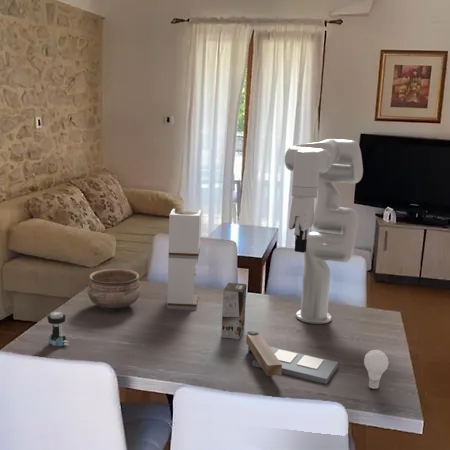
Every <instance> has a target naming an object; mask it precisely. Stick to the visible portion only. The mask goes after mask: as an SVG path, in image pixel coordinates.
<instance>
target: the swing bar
mask: <svg viewBox="0 0 450 450" xmlns="http://www.w3.org/2000/svg"><path fill="white" fill-rule="evenodd" d="M245 341H246V342H245V344H246V345H247V347H248V346H249V348H250V350H251V351H252V353H251V354H252V355H253V356H254V359H255V358H256V359H257V361H258V362H259V364H260V365H261V367H262V368H261V369H262V371H263V372H264V373H265V375H266V376H267V377H269V376H270V377H271V376H282V373H281V372H282V364H281V363H280V361H279V360H278V358H277V357H276V356H275V354H274V353H273V351H272V350H271V349H270V347H271V346H269V344H268V343H267V341H266V340H265V339H264V337H263V336H262V335H261V333H260V332H258V331H255V330H249V331H247V332H246V337H245Z"/></svg>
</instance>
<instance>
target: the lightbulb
mask: <svg viewBox="0 0 450 450" xmlns="http://www.w3.org/2000/svg"><path fill="white" fill-rule="evenodd" d="M363 364H364V367H365V369H366V370H367V371H366V372H367V374H368V380H369V381H368V387H369V388H370V389H371V390H376V389H379V388H380V387H379V385H380V379H381V378H382V375H383V374H384V373H385V372H386V371H387V369H388V367H389V358H388V356H387V354H386V353H384V352H383V351H382V350H379V349H372V350H369V351H368V352H367V353H366V354H365V356H364V359H363Z"/></svg>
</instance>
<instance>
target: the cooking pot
mask: <svg viewBox="0 0 450 450" xmlns="http://www.w3.org/2000/svg"><path fill="white" fill-rule="evenodd" d="M88 277H89V279H90V280H89V283H88V285H87V296H88V298H89V300H90V301H91V302H92V303H93V304H94V305H96V306H98V307H100V308H102V309H105V310H106V311H108V312H109V311H110V312H119V311H122V310H123V309H125V308H127V307H130V306H131V305H133V304H134V303H135V302H137V300H138V299H139V297H140V296H141V291H142V287H141V284H140V281H139V277H140V274H139V273H138V271H137V272H136V271H134V270H132V269H131V270H130V269H126V268H105V269H99V270H96V271H93V272H92V273H90V274H89V276H88Z"/></svg>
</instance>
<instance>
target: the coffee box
mask: <svg viewBox="0 0 450 450" xmlns="http://www.w3.org/2000/svg"><path fill="white" fill-rule="evenodd" d="M246 298H247V284H246V283H239V282H238V283H236V282H235V283H234V282H228V283H227V284H226V286H225V288H224V289H223V295H222V311H221V312H222V316H221V335H220V337H221V338H225V339H235V340H240V339H241V337H242V335H243V333H244V331H245V321H246V320H245V319H246V301H247V299H246Z"/></svg>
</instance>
